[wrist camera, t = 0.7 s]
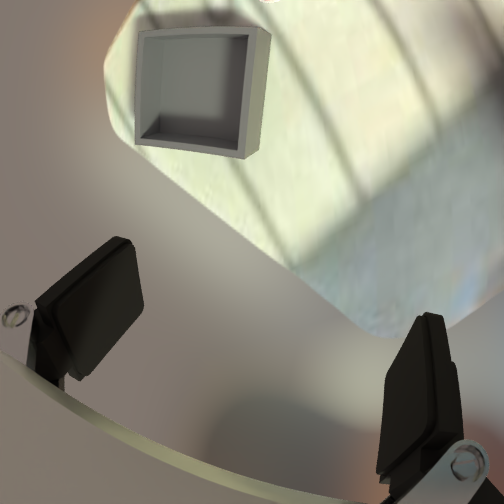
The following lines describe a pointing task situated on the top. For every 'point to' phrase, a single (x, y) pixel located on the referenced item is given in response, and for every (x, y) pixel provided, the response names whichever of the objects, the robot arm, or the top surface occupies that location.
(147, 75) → the bin
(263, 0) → the beverage cup
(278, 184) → the top surface
